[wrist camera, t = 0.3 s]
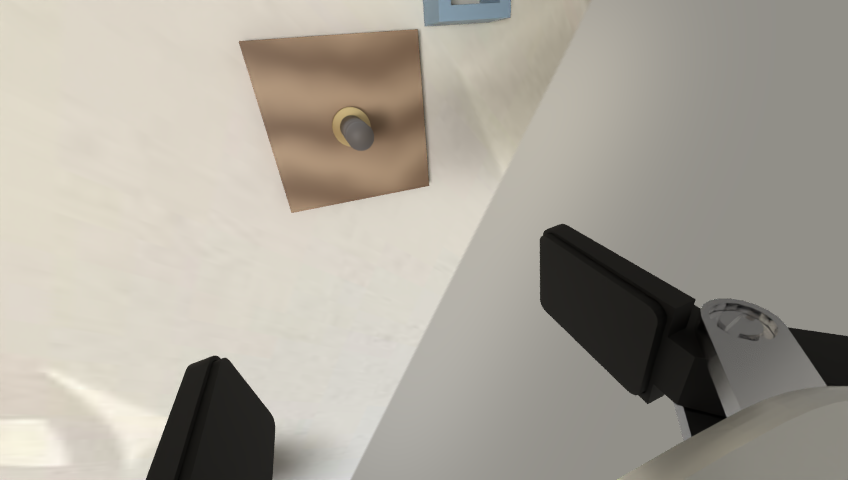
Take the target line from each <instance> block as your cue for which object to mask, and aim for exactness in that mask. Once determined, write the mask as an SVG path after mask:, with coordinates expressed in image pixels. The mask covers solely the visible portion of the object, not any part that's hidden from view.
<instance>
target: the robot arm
mask: <svg viewBox="0 0 848 480" xmlns="http://www.w3.org/2000/svg"><path fill="white" fill-rule="evenodd" d="M540 302H541V305H542V307H543V308H544V310H545V311H546V312H547V313H548V314H549V315H550V316H551V317H552V318H553V319H554V320H555V321H556V322H557V323H558V324H560V325H561V327H563V328H564V329H565V330H566V331H567V332H568V333H569V334H570V335H571V336H572V337H573V338H574V339H575V340H576V341H577V342H578V343H579V344H580V345H581V346H582V347H583V348H584V349H585V350H586V351H587V352H588V353H589V354H590V355H591V356H592V357H593V358H595V360H597V361H598V362H599V363H600V364H601V365H602V366H603V367H604V368H605V369H606V370H607V371H608V372H609V373H610V374H611V375H612V376H613V377H614V378H615V379H616V380H617V381H618V382H619V383H620V384H621V385H622V386H623V387H624V388H625V389H626V390H627V391H629V392H630V393H631V394H634V395H639V396H640V397H641V398H642V399H643V400H644V401H645V402H646V403H647V404H649V403H651V402H652V401H654V400H656V399H658V398H660V397H662V396H663V395H664V394H665V395H666V396H667V397H669V398H670V399H671V400H672V401H673V402H674V406H675V410H676V413H677V417H678V421H679V425H680V428H681V432H682V436H683V440H684V441H683V442H681V443H680V444H678V445H676V446H674V447H673V448H671V449H669V450H667V451H666V452H664V453H662V454H661V455H659V456H657V457H655V458H654V459H652V460H650V461H648V462H647V463H645V464H643V465H641V466H640V467H638V468H636V469H634V470H633V471H631V472H629V473H627V474H626V475H624V476H622V477H620V478H619V479H617V480H848V336H843V335H836V334H829V333H822V332H815V331H808V330H802V329H794V328H788V327H787V326H786V325H785V324H784V323H783V322H782V321H781V319H780V318H779V317H777V316H776V315H774V314H773V313H771V312H770V311H768V310H766V309H764V308H762V307H760V306H758V305H755V304H752V303H749V302H746V301H742V300H736V299H714V300H710V301H708V302H706V303H705V304H703V306H702V308H701V309H700V308H698V307H697V306H695V305H694V302H695V299H694V298H692V297H691V296H689V295H687V294H685V293H683V292H682V291H680V290H678V289H677V288H675V287H673V286H671V285H670V284H668V283H666V282H665V281H663V280H661V279H659V278H658V277H656V276H654V275H652V274H651V273H649V272H647V271H645V270H644V269H642V268H640V267H639V266H637V265H635V264H633V263H631V262H630V261H628V260H626V259H625V258H623V257H621V256H619V255H618V254H616V253H614V252H613V251H611V250H609V249H607V248H606V247H604V246H602V245H600V244H599V243H597V242H595V241H593V240H592V239H590V238H588V237H587V236H585V235H583V234H581V233H579V232H578V231H576V230H574V229H573V228H571V227H569V226H567V225H565V224H560V225H557V226H554V227H552V228H549V229H547V230H545V231H544V233H543V236H542V237H541V238H540ZM274 441H275V422H274V418H273V416H272V414H271V413H270V412H269V410H268V409H267V408H266V407H265V405H264V404H263V403H262V402H261V400H260V399H259V398H258V396H257V395H256V394H255V393H254V391H253V390H252V389H251V387H250V386H249V385H248V384H247V382H246V381H245V380H244V379H243V377H242V376H241V375H240V373H239V372H238V371H237V370H236V368H235V367H234V366H233V364H232V363H231V362H230V361H229V360H228V359H227V358H222V359H220V358H219V357H218V356H212V357H209V358H206V359H204V360H201V361H198V362H196V363H193V364H191V365H189V366H188V367H187V369H186V372H185V374H184V377H183V380H182V382H181V385H180V388H179V391H178V393H177V396H176V399H175V401H174V404H173V407H172V410H171V412H170V415H169V418H168V421H167V423H166V426H165V429H164V431H163V434H162V437H161V440H160V442H159V445H158V448H157V450H156V453H155V456H154V459H153V461H152V464H151V467H150V470H149V472H148V475H147V478H146V480H272V475H273V458H274Z"/></svg>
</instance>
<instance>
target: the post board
mask: <svg viewBox="0 0 848 480" xmlns="http://www.w3.org/2000/svg"><path fill="white" fill-rule="evenodd" d="M239 44H240V47H241V50H242V54H243V57H244V60H245V63H246V66H247V70H248V73H249V76H250V79H251V83H252V86H253V89H254V92H255V96H256V99H257V102H258V105H259V109H260V112H261V115H262V118H263V122H264V125H265V128H266V131H267V135H268V138H269V141H270V144H271V147H272V151H273V154H274V157H275V160H276V164H277V167H278V170H279V173H280V177H281V180H282V183H283V186H284V190H285V193H286V196H287V199H288V203H289V206H290V209H291V212H292V213H294V212H299V211H304V210H309V209H314V208H319V207H324V206H329V205H334V204H339V203H344V202H349V201H354V200H360V199H365V198H370V197H375V196H380V195H385V194H390V193H395V192H400V191H405V190H410V189H415V188H420V187H425V186H429V178H428V164H427V151H426V137H425V123H424V110H423V96H422V82H421V69H420V55H419V41H418V29H415V30H400V31H385V32H370V33H355V34H340V35H325V36H311V37H296V38H281V39H266V40H251V41H239Z"/></svg>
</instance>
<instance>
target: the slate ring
mask: <svg viewBox="0 0 848 480" xmlns="http://www.w3.org/2000/svg"><path fill="white" fill-rule="evenodd" d="M423 6H424V21H425V26H439V25H454V24H470V23H485V22H493V21H497V20H501V19H506V18H510V13H511V0H480V4H464V5H451V0H423Z"/></svg>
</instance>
